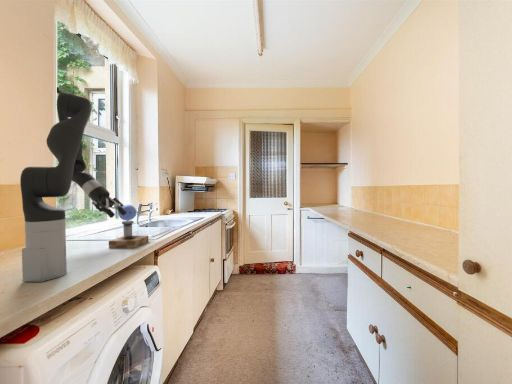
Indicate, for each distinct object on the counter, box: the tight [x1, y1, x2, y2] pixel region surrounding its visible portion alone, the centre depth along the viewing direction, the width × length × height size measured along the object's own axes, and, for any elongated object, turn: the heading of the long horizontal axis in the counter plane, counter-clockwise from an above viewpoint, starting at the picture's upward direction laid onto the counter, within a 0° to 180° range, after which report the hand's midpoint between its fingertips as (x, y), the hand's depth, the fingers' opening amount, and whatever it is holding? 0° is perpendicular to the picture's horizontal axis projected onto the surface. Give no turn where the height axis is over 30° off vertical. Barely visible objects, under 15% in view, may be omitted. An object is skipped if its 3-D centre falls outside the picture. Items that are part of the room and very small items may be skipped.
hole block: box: [108, 235, 150, 249], centre depth 112 cm, size 12×12×3 cm
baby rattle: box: [117, 204, 137, 221], centre depth 126 cm, size 9×9×18 cm
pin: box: [121, 220, 134, 239], centre depth 112 cm, size 5×5×11 cm
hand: (119, 215), depth 112 cm, fingers open, 8 cm apart
